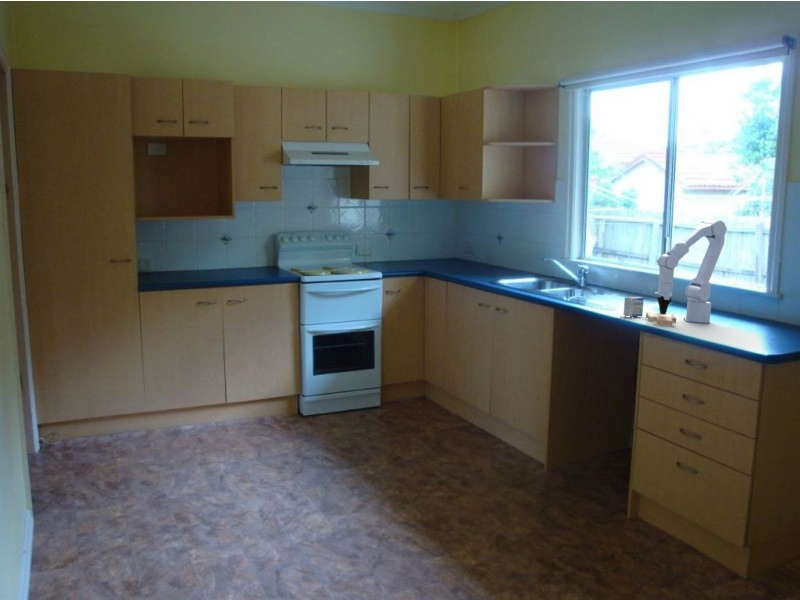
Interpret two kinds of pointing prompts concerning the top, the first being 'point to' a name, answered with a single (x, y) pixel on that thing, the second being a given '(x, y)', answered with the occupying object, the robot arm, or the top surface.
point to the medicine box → (633, 306)
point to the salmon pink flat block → (663, 320)
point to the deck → (652, 316)
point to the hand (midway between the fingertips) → (662, 314)
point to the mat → (663, 325)
